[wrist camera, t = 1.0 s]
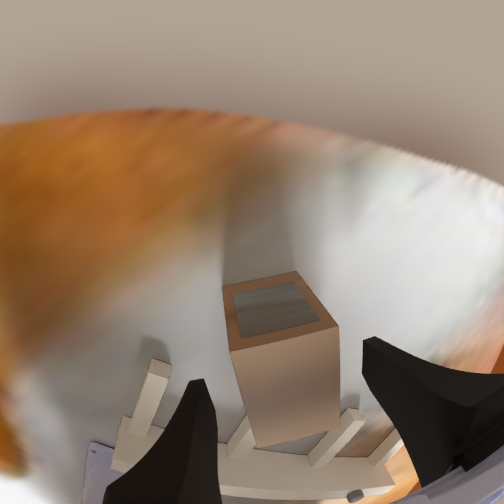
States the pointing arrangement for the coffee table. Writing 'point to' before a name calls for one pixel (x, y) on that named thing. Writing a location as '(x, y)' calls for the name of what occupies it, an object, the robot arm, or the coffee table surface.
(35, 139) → the coffee table surface
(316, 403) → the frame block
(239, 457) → the cream pronged rack
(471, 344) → the coffee table surface
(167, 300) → the coffee table surface
